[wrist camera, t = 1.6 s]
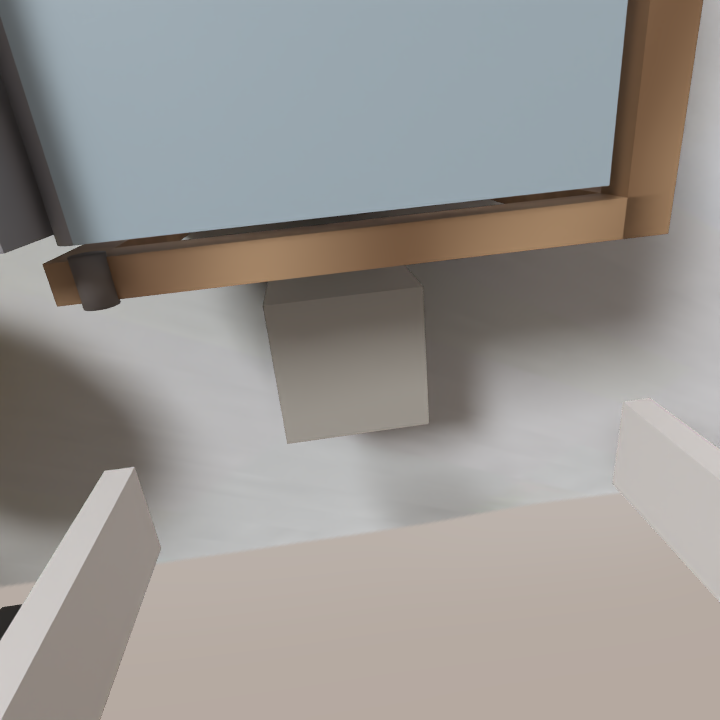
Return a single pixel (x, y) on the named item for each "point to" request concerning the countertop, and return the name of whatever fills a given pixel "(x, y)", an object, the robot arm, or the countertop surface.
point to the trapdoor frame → (443, 228)
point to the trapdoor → (293, 109)
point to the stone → (348, 352)
